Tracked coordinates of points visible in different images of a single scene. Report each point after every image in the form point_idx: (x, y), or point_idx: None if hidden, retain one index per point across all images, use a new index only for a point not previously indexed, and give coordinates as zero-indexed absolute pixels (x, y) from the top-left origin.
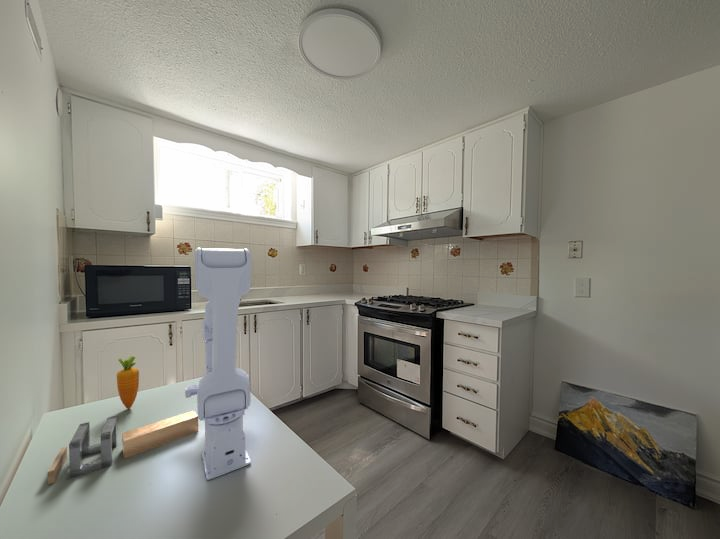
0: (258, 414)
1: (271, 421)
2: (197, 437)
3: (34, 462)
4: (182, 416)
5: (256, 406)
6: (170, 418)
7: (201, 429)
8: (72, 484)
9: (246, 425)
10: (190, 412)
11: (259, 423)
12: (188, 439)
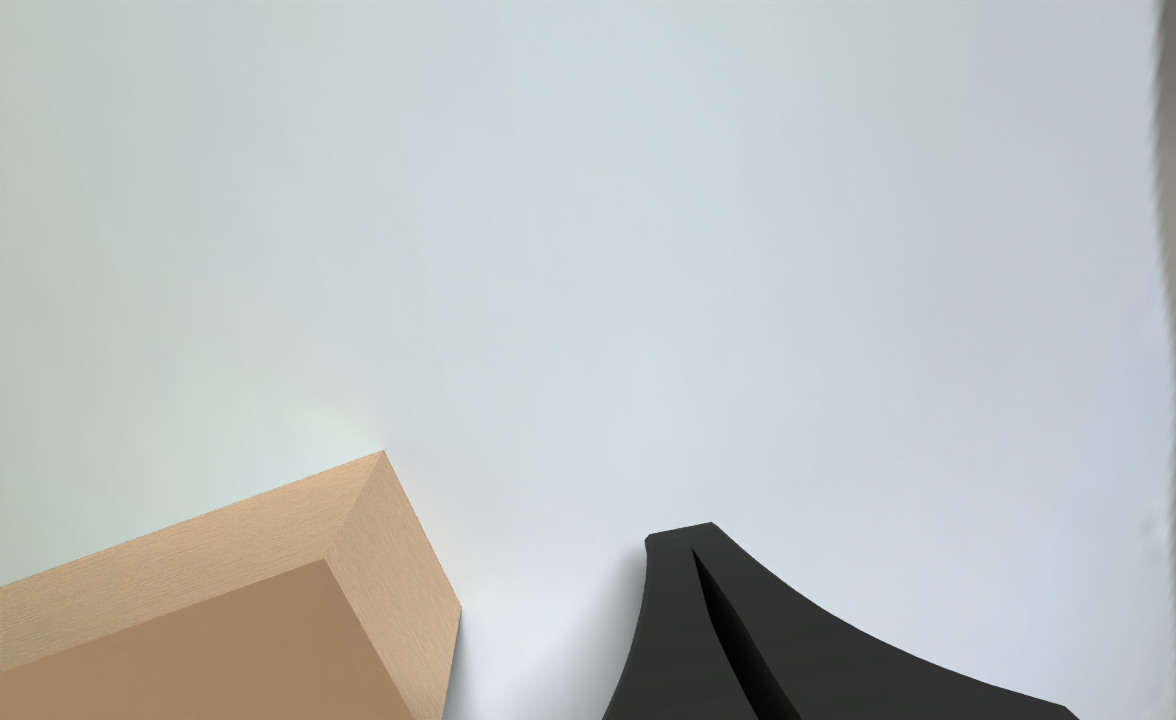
0: (1090, 506)
1: (1150, 684)
2: (472, 711)
3: None
4: (198, 697)
5: (1136, 293)
6: (21, 700)
7: (489, 586)
8: None
9: None
10: (291, 622)
11: (1042, 679)
12: None
